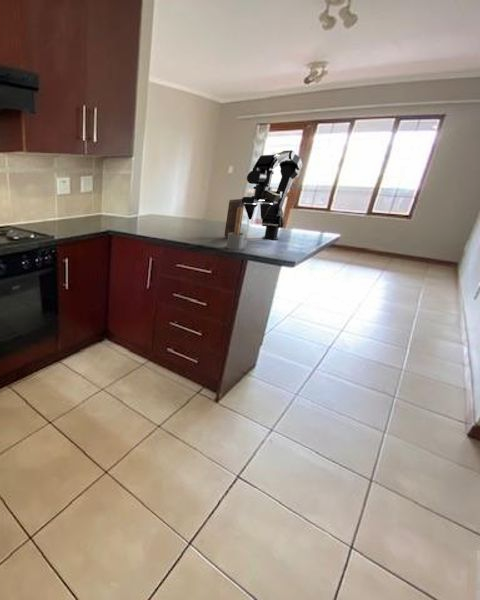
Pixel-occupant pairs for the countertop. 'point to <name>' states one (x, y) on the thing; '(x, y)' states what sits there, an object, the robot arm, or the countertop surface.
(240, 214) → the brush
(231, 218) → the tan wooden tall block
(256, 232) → the countertop surface
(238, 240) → the grey cube
